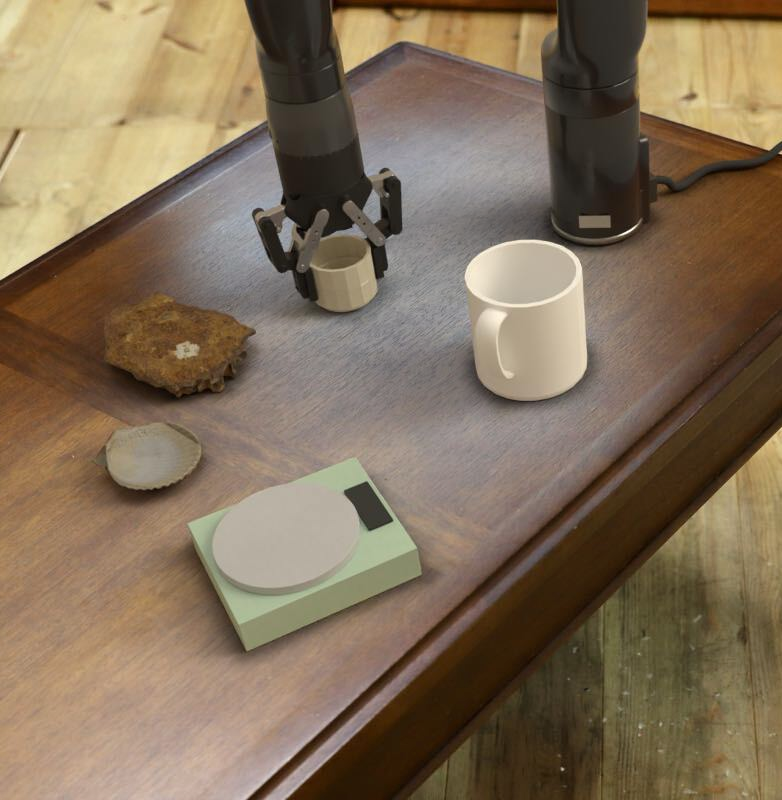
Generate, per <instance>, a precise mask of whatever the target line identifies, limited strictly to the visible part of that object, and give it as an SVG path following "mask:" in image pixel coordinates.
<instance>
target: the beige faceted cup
mask: <svg viewBox="0 0 782 800" xmlns="http://www.w3.org/2000/svg"><path fill="white" fill-rule="evenodd" d="M309 267H310V269H311V270H312V274H313V279H314V284H315V289H316V293H317V298H318V300H317V301H314V302H315V304H316V305H317V306H319V307H321V308H323V309H325V310H327V311H330V312H335V313H348V312H352V311H356V310H358V309H361V308H362V307H365V306H366V305H368V304H370V302H371V300H373V298H375V296H376V294H377V293H378V280H377V279H376V273H375V268H374V262H373V256H372V251H371V246H370V244H369V243H368V242H367V241H366V240H365V239H364V238H363V237H361V236H358V235H356V234H348V233H342V234H331V235H329V236H326V237H323V238H321V239H320V242H319V245H318V248H317V251H316V252H314V253H313V255H312V259H311V262H310V265H309Z"/></svg>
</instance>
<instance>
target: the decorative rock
mask: <svg viewBox="0 0 782 800" xmlns="http://www.w3.org/2000/svg"><path fill="white" fill-rule="evenodd" d="M103 324H104V327H103V329H104V332H103V336H104V340H105V347H104V352H105V353H104V358H103V361H104V362H105V363H107V364H110V365H112V366H113V367H116V368H118V369H121V370H123V371H127V372H129V373H131V375H132V376H133V377H134V378H135V379H136V380H137V381H140V382H145V383H147V384H149V385H151V386H153V387H155V388H161V389H162V388H163V389H165V390H167V391H168V392H169V393H171V394H173V395H175V397H177V398H180V397H181V396H182V395H183V394H184V395H191V394H193V393H195V392H198V393H201V392H203V391H204V390H206V389H210V390H211V391H212V392H213V393H219V392H222V391H223V390H225V388H226V384H225V382H224V377H227V376H230V377H232V378H233V379H236V374H237V371H236V365H237V364H238V362H239V361H240V362H241V361H244V359H246V358H247V356H249V353H248V345H247V341H248V339H249V338H250V337H252V336H254V335H256V334H257V329H255V328H253V327H250V326H247V325H246V324H243V323H241V322H239V321H238V319H236V317H235V316H234V315H231V314H228V313H225V312H221V311H218V310H215V309H210V308H201V307H198V306H195V305H187V304H185V303H181V302H176V300H175V299H174V298H173V297H172V296H169V295H166V294H164V293H160V292H154V293H152V294H148V293H147V294H146V295H145V296H144V297H142V298H141V299H140V301H139V302H133V303H126V304H123V305H119V306H116V307H114V309H113V310H112V311H111V312H110V313H109V315H106V316H105V318H104V321H103Z"/></svg>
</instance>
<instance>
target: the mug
mask: <svg viewBox="0 0 782 800" xmlns="http://www.w3.org/2000/svg"><path fill="white" fill-rule="evenodd" d="M464 284H465V293H466V301H467V308H468V309H467V310H468V316H469V324H470V332H471V339H472V349H473V356H474V363H475V370H476V374H477V378H478V379H479V381H480V383H481V384H482V385H483V386H484V387H485V388H486V389H488V390H489V391H491V392H492V394H495V395H497V396H500V397H503V398H504V399H508V400H513V401H519V402H536V401H537V402H538V401H542V400H549V399H551V398H554V397H557V396H559V395H562V394H564V393H565V392H567V391H569V390H571V389H572V388H573V387H574V386H576V384H578V382H579V381H580V380H581V379H582V378H583V376H584V374H585V372H586V370H587V366H588V348H587V333H586V332H587V331H586V314H585V313H586V311H585V296H584V279H583V267H582V264H581V262H580V258H578V257H577V255H576V254H575V253H574V252H573V251H572V250H570V249H569V248H567V247H565V246H563V245H561V244H558V243H555V242H551V241H547V240H541V239H517V240H511V241H505V242H502V243H498V244H497V245H493V246H491V247H489V248H486V249H485V250H483V251H481V252H480V253H479V254H477V255H476V256H474V258H472V259H471V261H470V262H469V264H468V265H467V267H466V268H465V274H464Z"/></svg>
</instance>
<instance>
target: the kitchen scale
mask: <svg viewBox="0 0 782 800" xmlns="http://www.w3.org/2000/svg"><path fill="white" fill-rule="evenodd" d="M186 524H187V529H188V531H189V534H190V537H191V540H192V543H193V547H194V549H195V552H196V554H197V556H198V557H199V559H200V562H201V564H202V566H203V567H204V570H205V571H206V573H207V576H208V577H209V579H210V582H211V584H212V585H213V587H214V589H215V591H216V593H217V596H218V597H219V600H220V601H221V603H222V605H223V607H224V609H225V611H226V613H227V615H228V617H229V619H230V621H231V623H232V626H233V627H234V629H235V632H236V633H237V635H238V638H239V639H240V641H241V643H242V646H243V647H244V649H245V651H246V652H249V651H251V650H253V649H257V648H259V647H261V646H263V645H265V644H268V643H269V642H272V641H274V640H277V639H279V638H281V637H283V636H286V635H288V634H290V633H293V632H295V631H297V630H300V629H302V628H304V627H306V626H308V625H311V624H313V623H315V622H317V621H320V620H323V619H325V618H326V617H327V618H328V617H329V616H331V615H334V614H336V613H338V612H340V611H343V610H345V609H347V608H350V607H352V606H354V605H356V604H359V603H361V602H363V601H365V600H367V599H370V598H372V597H375V596H377V595H379V594H381V593H384V592H386V591H389V590H391V589H393V588H395V587H397V586H400V585H402V584H404V583H407V582H408V581H411V580H413V579H416V578H418V577H420V576H422V574H423V573H422V567H421V561H420V556H419V551H418V547H417V545H416V543H415V542H414V541H413V539H412V538H411V536H410V535H409V533H408V532H407V530H406V529H405V528H404V526H403V524H402V523H401V522H400V520H399V519H398V517H397V516H396V514H395V512H394V511H393V510H392V508H391V507H390V505H389V504H388V502H387V501H386V500H385V498H384V497H383V495H382V493H381V491H379V489H378V488H377V486H376V485H375V484H374V482H373V481H372V479H371V478H370V476H369V474H368V472H366V470H365V469H364V467H363V466H362V464H361V463H360V461H359V460H358V458H357V457H356V456H353V457H351V458H349V459H345V460H343V461H340V462H338V463H335V464H333V465H330V466H328V467H325V468H323V469H320V470H319V471H316V472H313V473H310V474H307V475H305V476H303V477H300V478H297V479H295V480H292V481H290V482H288V483H282V484H277V485H274V486H273V485H272V486H270V487H267V488H264V489H261V490H258V491H256V492H254V493H252V494H250V495H248V496H247V497H245V498H244V499H242V500H240V501H239V502H237V503H234V504H232V505H230V506H226V507H225V508H222V509H220V510H217V511H215V512H211V513H210V514H207V515H205V516H202V517H199V518H197V519H193V520H192V521H189V522H187V523H186Z"/></svg>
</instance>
